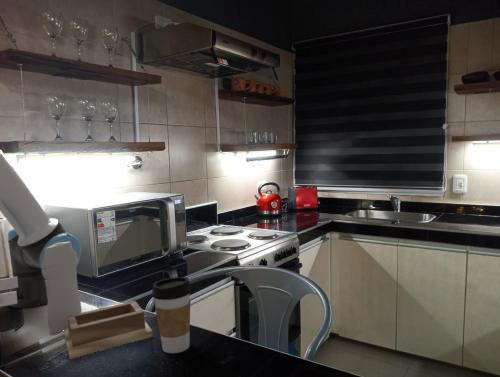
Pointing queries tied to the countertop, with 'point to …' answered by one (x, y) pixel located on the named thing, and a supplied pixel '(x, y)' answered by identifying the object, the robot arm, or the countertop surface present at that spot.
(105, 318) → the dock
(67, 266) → the tall pale column
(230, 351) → the countertop surface
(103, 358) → the countertop surface
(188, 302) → the coffee cup
